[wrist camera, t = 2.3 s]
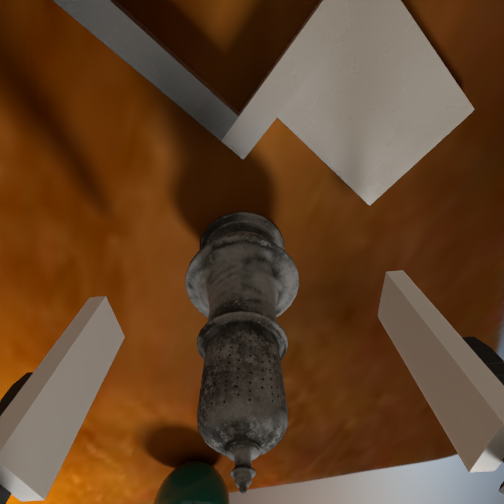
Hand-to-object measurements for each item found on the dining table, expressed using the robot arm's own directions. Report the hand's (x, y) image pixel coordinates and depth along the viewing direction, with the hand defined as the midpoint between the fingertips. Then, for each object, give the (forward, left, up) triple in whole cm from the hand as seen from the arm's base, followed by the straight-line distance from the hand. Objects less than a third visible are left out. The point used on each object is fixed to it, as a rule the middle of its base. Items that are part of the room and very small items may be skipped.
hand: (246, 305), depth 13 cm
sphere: (+14, -26, -5) cm, 30 cm away
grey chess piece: (0, 0, -5) cm, 5 cm away
